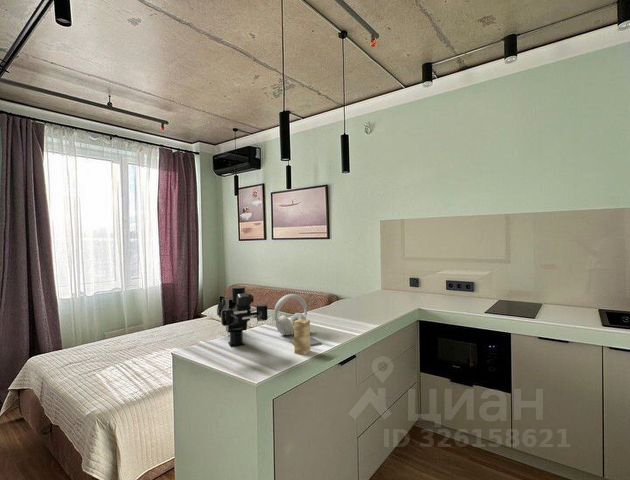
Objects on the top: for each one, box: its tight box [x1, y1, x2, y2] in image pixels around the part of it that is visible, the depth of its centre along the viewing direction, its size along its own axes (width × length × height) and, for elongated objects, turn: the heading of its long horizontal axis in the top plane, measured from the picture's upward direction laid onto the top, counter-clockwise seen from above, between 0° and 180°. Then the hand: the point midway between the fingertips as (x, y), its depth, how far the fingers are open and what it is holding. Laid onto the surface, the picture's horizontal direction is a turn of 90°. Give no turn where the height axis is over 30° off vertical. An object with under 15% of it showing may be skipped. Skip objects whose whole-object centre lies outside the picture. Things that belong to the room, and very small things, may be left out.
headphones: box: [273, 293, 308, 336], centre depth 163 cm, size 18×10×20 cm, turn 126°
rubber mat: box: [289, 335, 322, 347], centre depth 148 cm, size 11×11×1 cm
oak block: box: [293, 319, 311, 355], centre depth 136 cm, size 5×5×13 cm
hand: (250, 319), depth 126 cm, fingers open, 9 cm apart
